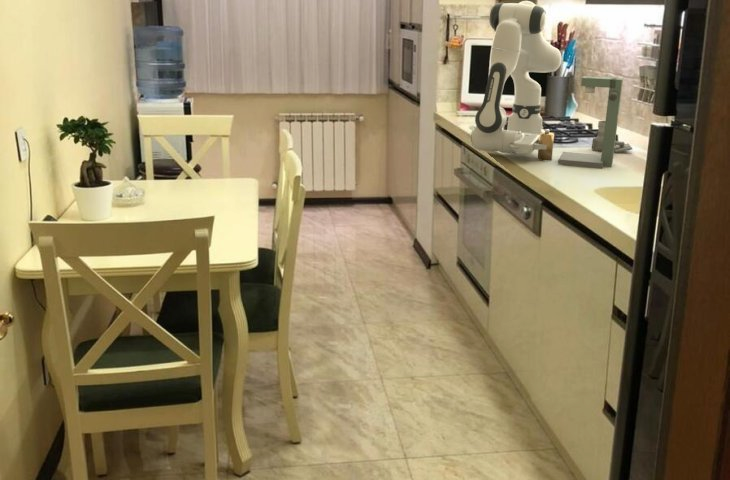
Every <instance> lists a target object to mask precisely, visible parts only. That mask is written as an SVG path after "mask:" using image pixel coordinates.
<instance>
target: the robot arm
mask: <svg viewBox="0 0 730 480" xmlns="http://www.w3.org/2000/svg"><path fill="white" fill-rule="evenodd" d="M488 18H489V19H488V20H489V25H490V27H491V29H493V30H494V31H493V32H494V34H493V39H492V43H491V48H490V54H489V67H488V77H487V83H486V87H485V92H484V97H483V101H482V104H481V106H480V107H479V109H478V110H477V112H476V114H475V117H474V121H475V125H476V126H475V127H474V128H473V129H472V130H471V134H470V141H471V145H472V146H473V148H474V149H476V150H478V151H485V152H491V153H494V152H500V153H501V154H513V155H516V154H517V153H522V154H532V153H533V152H534V150H535V151H536V150H537V151H538V150H539V149H547V144H539V136H540V133H541V132H545V129H544V126H543V119H544V118H543V117H542V116H541V110H542V107H541V97H542V87H541V84H539V83H538V82H537V81H536V80H534V79H533V78H531V77H530V74H529V73H541V74H542V73H544V74H545V73H552V72H556V71H557V70H558V69H559V68H560V67H561V64H562V59H563V58H562V53H561V51H560V49H558V48H557V47H554V46H553V45H552V44H550V43H549V42H548V41H547V40H546V38H545V37H544V35H543V30H544V27H545V26H546V23H547V12H546V10H545V9H544V7H541V6H539V5H536V4H535V3H534V2H533V1H530V0H522V1H520V2H518V3H515V2H508V3H507V2H506V3H505V2H498V3H495V4H494V5H493V6H492V7H491V9H490V11H489V17H488ZM509 77H511V78H512V80H513V85H514V100H513V101H514V102H513V103H512V113H511V114H510V115H509V116H508V114H507V111H506V110H505V108H504V107H502V106H500V105H501V100H502V96H503V91H504V86H505V83H506V81H507V79H508V78H509ZM506 123H507V127H506ZM505 127H506V128H507V129H505Z"/></svg>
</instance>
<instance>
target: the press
mask: <svg viewBox="0 0 730 480" xmlns="http://www.w3.org/2000/svg"><path fill="white" fill-rule="evenodd" d="M623 82H624V77H613V76H612V77H611V76H609V77H608V76H594V75H593V76H592V75H591V76H590V75H582V77H581V83H580V87H584V93H586V94H594V93H595V92H596V88H609V90H608V98H607V104H606V105H607V106H606V115H605V120H604V121H605V130H604V138H603V147H602V151H601V154H594V153H593V154H592V153H583V152H572V151H563V152H562V153H561V154H560V156H559V158H558V162H557V165H558V164H562V166H569V165H571V166H572V167H581V168H591V169H603V167H607V168H608V167H609V168H612V166H613V163H614V156H615V155H614V154H615V152H614V148H615V140H616V138H617V137H616V136H617V129H618V123H619V116H620V106H621V99H622V98H621V97H622V90H623ZM571 166H570V167H571Z"/></svg>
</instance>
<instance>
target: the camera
mask: <svg viewBox="0 0 730 480" xmlns="http://www.w3.org/2000/svg"><path fill="white" fill-rule="evenodd" d="M605 121H606V120H599V121H598V124H597V129H598V130H597V136H593V137H592V141H591V142H592V143H591V150H592V151H593V152H594V151H595V152H602V147H603V138H604V130H605ZM631 150H633V147H632V146H631V145H630V144H629V143H625V141H618V140H616V139H615V148H614V154H615V153H620V152H626V151H631Z"/></svg>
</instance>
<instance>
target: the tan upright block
mask: <svg viewBox="0 0 730 480" xmlns="http://www.w3.org/2000/svg"><path fill="white" fill-rule="evenodd" d="M544 130H545V132H541V133H540V136H539V144H547V149H539V150H537V160H538V159H539V160H540V161H543V160H550V161H552V160H553V152H554V150H553V149H554V140H555V139H554V138H555V133H554V132H550V129H549V128H547V129H544Z"/></svg>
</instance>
